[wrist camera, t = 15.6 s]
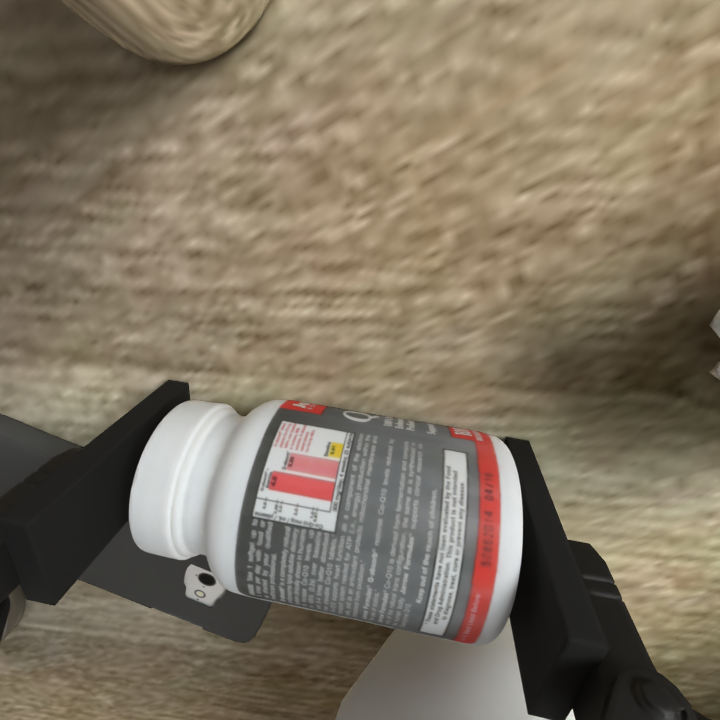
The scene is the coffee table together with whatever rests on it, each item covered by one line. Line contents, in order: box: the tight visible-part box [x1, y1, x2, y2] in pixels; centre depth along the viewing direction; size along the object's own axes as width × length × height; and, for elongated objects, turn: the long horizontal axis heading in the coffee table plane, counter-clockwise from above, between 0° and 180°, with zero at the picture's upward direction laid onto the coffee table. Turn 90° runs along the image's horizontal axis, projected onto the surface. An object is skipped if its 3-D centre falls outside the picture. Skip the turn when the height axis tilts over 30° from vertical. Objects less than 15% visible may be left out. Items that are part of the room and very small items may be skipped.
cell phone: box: [0, 415, 272, 643], centre depth 18 cm, size 8×15×1 cm, turn 68°
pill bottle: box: [129, 399, 523, 646], centre depth 12 cm, size 6×6×10 cm
